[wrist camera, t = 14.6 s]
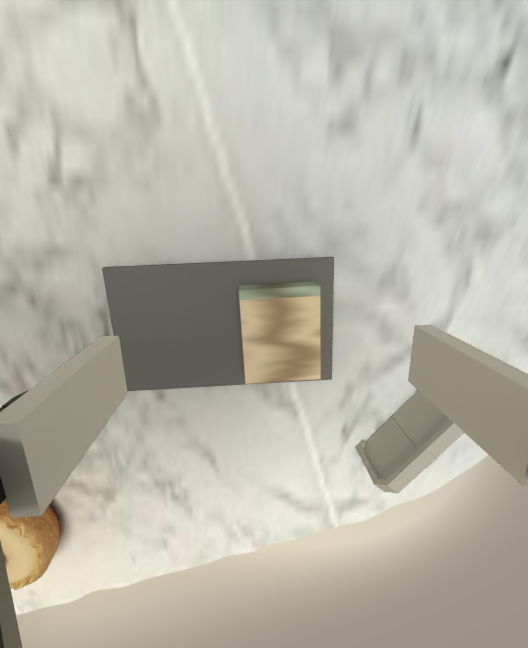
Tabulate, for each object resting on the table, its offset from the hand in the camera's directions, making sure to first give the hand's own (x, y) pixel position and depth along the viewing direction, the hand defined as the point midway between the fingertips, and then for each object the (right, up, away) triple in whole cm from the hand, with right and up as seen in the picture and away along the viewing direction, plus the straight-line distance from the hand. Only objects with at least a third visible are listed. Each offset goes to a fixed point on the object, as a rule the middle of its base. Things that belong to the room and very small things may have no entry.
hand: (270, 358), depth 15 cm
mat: (-5, +1, +22) cm, 22 cm away
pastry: (-32, -24, +28) cm, 48 cm away
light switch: (+16, -10, +26) cm, 32 cm away
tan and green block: (+2, -4, +22) cm, 22 cm away
